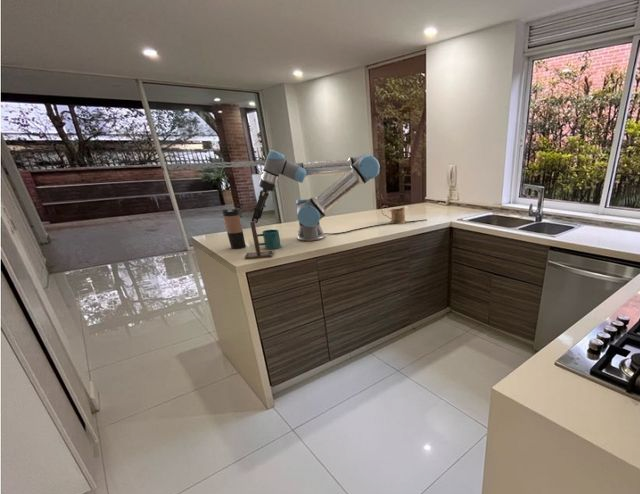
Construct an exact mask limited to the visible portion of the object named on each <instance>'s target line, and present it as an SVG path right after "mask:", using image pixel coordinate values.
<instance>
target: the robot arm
mask: <svg viewBox="0 0 640 494" xmlns="http://www.w3.org/2000/svg"><path fill="white" fill-rule="evenodd" d="M285 157H286V156H285V155H284V154H282V153H281V152H278V151H277V150H273V149H271V150H269V152H268V154H267V156H266V160H265V163H264V166H263V170H262V171H261V172H260V173H261V176H260V180H259V182H258V186H259V187H260V188H262V190H260V191H259V195H258V200H257V202H256V205H255V206H254V207H253V210H254V212H253V215H252V218H251V222H252V221H254V219H257V221H256V223H255V224H258V222H259V220H260V219H261V218H262V215H263V211H264V208H266V207H267V205H266V202H267V200H268V197H269V195H270V193H269V192H274V191H275V188H276V184H277V183H278V180H279V176H280V175H281V176H283V177H286V178H289V179H291V180H293V181H294V182H298V183H300V184H301V183H303V182H304V180H305V178H307V177H308V178H310V177H322V176H323V177H324V176H334V175H335V176H336V175H342V176H341V177H340V178H339V179H337V180H336V181H335V182H333V183H332V184H331V185H330V186H328V187H327V188H326V189H325V190H324V191H322V193H320V194H319V195H318V196H316V197H310V198H307V199H304V198H303V199H297V200H295V206H296V217H297V220H298V226H299V228H298V230H297V240H298V241H302V242H316V241H320V240H323V239H324V238H325V236H327V235H328V236H329V235H330V236H333V235H341V234H347V233H350V232H351V233H352V232H354V231H358V230H359V231H360V230H364V229H368V228H374V227H380V226H387V225H397V224H396V223H380V224H375V225H370V226H369V225H368V226H364V227H360V228H355V229H351V230H346V231H342V232H332V233H331V232H324V230H323V229H322V227H321V224H320V221H321V220H322V219H323V218H324V217H325V216H327V211H328V210H330V209H331V208H332V207H333V206H335V205H336V204H337V203H338V202H340V201H341V200H342V199H343V198H345V197H346V196H347V195H348V194H349V193H351V192H352V191H353V190H355V189H356V188H357V187H358V186H360V185H365V184H366V183H368V182H369V181H370V180H372V179H375V178H376V177H377V176H378V175H379V173H380V171H381V166H380V163H379V160H378V159H377V158H376V157H375V156H373V155H371V154H362V155H358V156H351V157H348V158H347V159H337V160H335V159H334V160H321V161H308V162H307V161H305V162H290V161H288V160H287V159H286V158H285ZM424 221H425V222H426V221H428V220H427V218H425V219H419V220H418V219H417V220H409V221H406V222H405V223H404V224H407V223H416V222H424Z"/></svg>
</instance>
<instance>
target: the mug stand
mask: <svg viewBox="0 0 640 494" xmlns="http://www.w3.org/2000/svg"><path fill="white" fill-rule="evenodd" d="M256 221H257V219H254V221H252V220H251V221H250V222H249V224H250V229H251V233H252V238H253V243H254V248H255V251H254V252H247V253H246V255H245V256H244V259H245V260H252V259H253V260H254V259H264V258H272V256H273V253H274V252H273V250H265V251H261V247H260V245H259V243H260V242H258V241H259V238H258V237H259V236H258V237H257V234H258V231H257V228H256V224H257V223H256Z"/></svg>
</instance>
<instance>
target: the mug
mask: <svg viewBox="0 0 640 494" xmlns="http://www.w3.org/2000/svg"><path fill="white" fill-rule="evenodd" d="M384 207H385V208H387V211H389V212H390V213H391V215H390V216H391V217H389V216H388V215H387V214H384V213H383V208H384ZM380 209H381V214H382V216H384V217H387V218H388V219H389V220H390V219H391V220H390V223H396V224H395V225H402V224H406V223H405V222H407V221H406V219H405V218H406V214H405V213H406V211H405V207H399V208H391V209H389V206H388V205H383V206H382V208H380Z"/></svg>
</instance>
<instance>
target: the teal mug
mask: <svg viewBox="0 0 640 494" xmlns="http://www.w3.org/2000/svg"><path fill="white" fill-rule="evenodd" d="M257 237H262V238H263V242H259V240H258V242H259V246H264V248H265V249H266V250H277V249H280V248H282V244H281V237H280V231H279V230H278V229H265V230H263V231H262V233H257Z"/></svg>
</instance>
